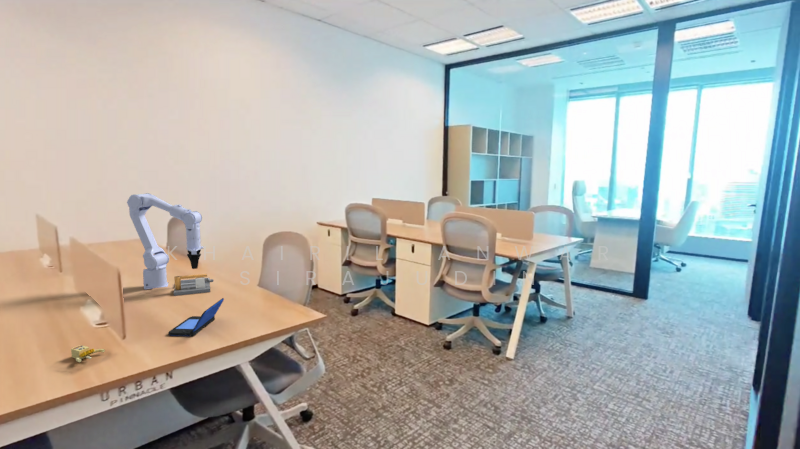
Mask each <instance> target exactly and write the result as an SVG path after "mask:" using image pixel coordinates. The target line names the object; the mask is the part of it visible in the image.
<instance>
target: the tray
mask: <svg viewBox="0 0 800 449" xmlns="http://www.w3.org/2000/svg"><path fill="white" fill-rule="evenodd" d="M208 279H210V277H204V280H208ZM205 284H210V285H211V282H209V283H205ZM190 285H196V278H188V279H181V286H190Z"/></svg>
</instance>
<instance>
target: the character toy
mask: <svg viewBox="0 0 800 449" xmlns="http://www.w3.org/2000/svg"><path fill="white" fill-rule="evenodd" d="M70 351H71V353H70V354H71V358H72V359H73V358H74V359H75V361H76V362H78V363H81V362H82V360H84V359H89V360H91V359H92V357H91V355H92V354H96V353H104V352H106V350H105V349H104V348H98V349H95V348H90V347H89V346H87V345H83V344H80V345H76V346H74V347H72V348H71V349H70Z"/></svg>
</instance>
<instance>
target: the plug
mask: <svg viewBox="0 0 800 449" xmlns="http://www.w3.org/2000/svg"><path fill="white" fill-rule="evenodd" d="M204 278H205V277H198V278H195V279H196V289H197V288H205V283H209V282H210V283H213V282H214V279H213V278H211V279H208V280H204Z"/></svg>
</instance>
